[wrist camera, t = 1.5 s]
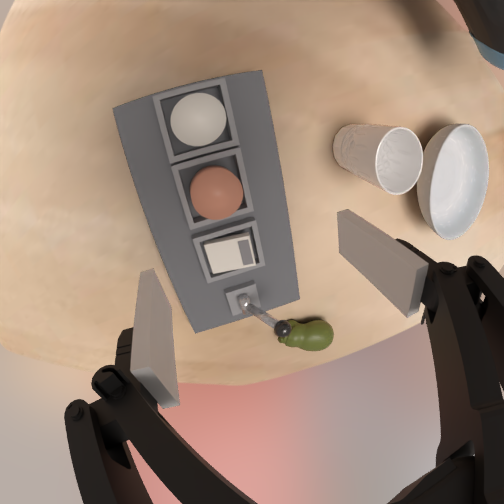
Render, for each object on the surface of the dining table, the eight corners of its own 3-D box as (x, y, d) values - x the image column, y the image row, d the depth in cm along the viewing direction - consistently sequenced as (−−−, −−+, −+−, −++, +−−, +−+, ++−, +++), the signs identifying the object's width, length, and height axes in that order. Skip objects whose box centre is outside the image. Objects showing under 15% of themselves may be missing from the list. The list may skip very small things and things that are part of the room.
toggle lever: (246, 291, 36) (294, 320, 30) (249, 304, 37) (296, 334, 31) (234, 299, 35) (281, 330, 29) (238, 313, 36) (283, 344, 30)
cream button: (215, 90, 24) (219, 87, 21) (226, 136, 26) (231, 138, 24) (165, 103, 23) (164, 101, 21) (177, 149, 25) (178, 152, 23)
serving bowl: (457, 217, 48) (480, 230, 42) (394, 233, 44) (421, 250, 38) (467, 124, 38) (493, 130, 32) (402, 112, 34) (434, 117, 28)
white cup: (326, 174, 36) (371, 195, 27) (329, 116, 32) (378, 122, 23) (371, 175, 37) (418, 195, 29) (375, 123, 34) (426, 132, 25)
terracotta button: (231, 159, 27) (237, 163, 25) (241, 204, 30) (247, 211, 28) (184, 173, 27) (185, 178, 24) (197, 217, 29) (199, 226, 27)
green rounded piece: (330, 356, 46) (276, 356, 44) (322, 336, 50) (272, 335, 49) (342, 333, 43) (285, 332, 42) (332, 314, 48) (279, 311, 46)
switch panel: (254, 73, 27) (266, 67, 23) (292, 288, 43) (304, 305, 39) (118, 109, 25) (109, 107, 21) (193, 320, 41) (196, 341, 37)
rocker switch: (248, 232, 32) (249, 236, 31) (255, 261, 34) (256, 265, 33) (204, 241, 32) (203, 245, 31) (213, 269, 34) (213, 274, 33)
